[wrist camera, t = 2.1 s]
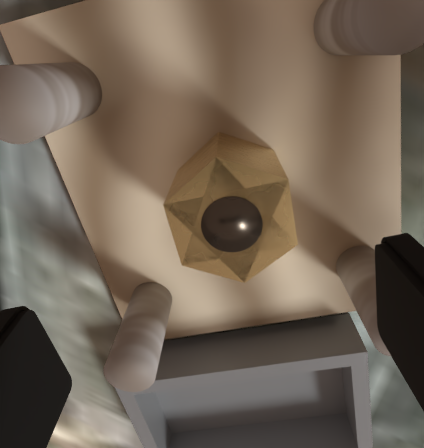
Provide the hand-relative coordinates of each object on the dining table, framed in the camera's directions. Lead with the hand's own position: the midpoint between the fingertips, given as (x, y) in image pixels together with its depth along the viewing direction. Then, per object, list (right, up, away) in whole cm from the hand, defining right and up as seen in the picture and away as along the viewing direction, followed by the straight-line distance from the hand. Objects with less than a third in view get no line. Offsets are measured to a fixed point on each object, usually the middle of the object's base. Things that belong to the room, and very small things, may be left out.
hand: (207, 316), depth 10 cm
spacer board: (+1, +5, +11) cm, 12 cm away
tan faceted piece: (+1, +5, +10) cm, 11 cm away
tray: (+3, -9, +18) cm, 20 cm away
